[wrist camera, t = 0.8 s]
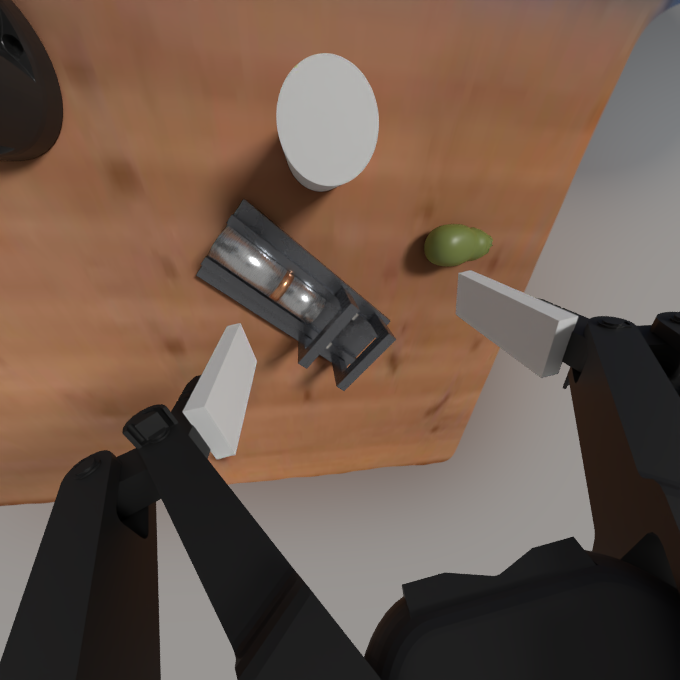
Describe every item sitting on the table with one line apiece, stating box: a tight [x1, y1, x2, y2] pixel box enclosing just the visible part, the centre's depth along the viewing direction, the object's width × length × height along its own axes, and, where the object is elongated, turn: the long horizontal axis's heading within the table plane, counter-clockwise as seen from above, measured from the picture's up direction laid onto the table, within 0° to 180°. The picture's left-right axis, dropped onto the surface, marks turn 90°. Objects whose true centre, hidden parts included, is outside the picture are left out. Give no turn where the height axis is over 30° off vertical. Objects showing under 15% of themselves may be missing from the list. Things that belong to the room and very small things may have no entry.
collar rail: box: [196, 199, 396, 391], centre depth 35 cm, size 27×12×8 cm, turn 49°
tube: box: [209, 226, 326, 324], centre depth 34 cm, size 15×4×4 cm, turn 49°
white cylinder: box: [277, 53, 379, 192], centre depth 25 cm, size 8×8×12 cm
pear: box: [424, 224, 493, 266], centre depth 36 cm, size 6×5×10 cm
